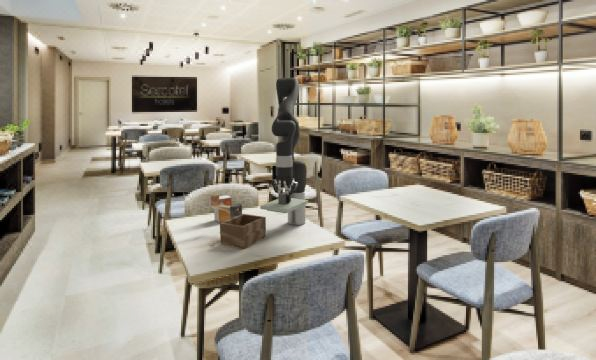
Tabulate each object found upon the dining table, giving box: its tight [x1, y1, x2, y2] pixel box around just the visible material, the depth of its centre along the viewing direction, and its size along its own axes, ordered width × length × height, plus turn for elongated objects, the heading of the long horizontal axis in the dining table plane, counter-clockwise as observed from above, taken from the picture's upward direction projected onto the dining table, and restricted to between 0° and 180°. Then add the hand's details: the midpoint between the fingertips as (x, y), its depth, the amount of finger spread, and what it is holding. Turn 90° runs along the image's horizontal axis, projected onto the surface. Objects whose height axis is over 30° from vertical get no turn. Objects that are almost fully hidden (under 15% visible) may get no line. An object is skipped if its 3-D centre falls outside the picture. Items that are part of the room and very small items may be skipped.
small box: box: [213, 194, 233, 223], centre depth 231 cm, size 8×6×13 cm
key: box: [210, 193, 239, 211], centre depth 208 cm, size 3×15×6 cm, turn 60°
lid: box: [259, 191, 309, 214], centre depth 193 cm, size 19×14×7 cm
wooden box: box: [219, 203, 267, 250], centre depth 198 cm, size 18×16×15 cm
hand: (284, 202), depth 193 cm, fingers closed on lid, 3 cm apart
